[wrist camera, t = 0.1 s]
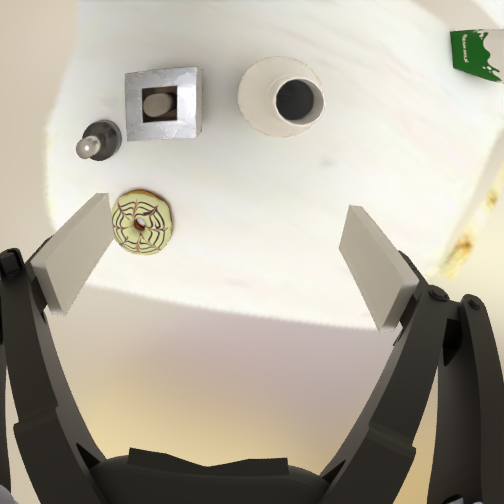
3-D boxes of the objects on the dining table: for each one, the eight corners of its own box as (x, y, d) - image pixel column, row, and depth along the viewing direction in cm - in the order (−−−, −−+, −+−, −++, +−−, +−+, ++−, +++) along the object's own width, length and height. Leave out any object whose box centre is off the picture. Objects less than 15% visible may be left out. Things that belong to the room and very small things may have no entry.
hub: (86, 122, 36) (64, 130, 30) (120, 117, 36) (101, 124, 30) (90, 158, 39) (70, 171, 33) (122, 155, 39) (105, 168, 34)
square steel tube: (139, 74, 29) (124, 73, 25) (202, 69, 29) (196, 66, 25) (141, 133, 33) (127, 141, 29) (201, 130, 33) (195, 137, 29)
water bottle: (229, 85, 35) (209, 81, 14) (274, 59, 33) (322, 23, 12) (256, 126, 38) (277, 182, 17) (300, 102, 36) (378, 129, 15)
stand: (157, 81, 34) (126, 81, 23) (199, 78, 34) (183, 75, 24) (158, 120, 37) (128, 135, 27) (199, 118, 37) (183, 132, 27)
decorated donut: (175, 190, 43) (170, 199, 40) (174, 249, 49) (170, 261, 45) (114, 186, 42) (104, 194, 39) (118, 243, 48) (111, 255, 44)
